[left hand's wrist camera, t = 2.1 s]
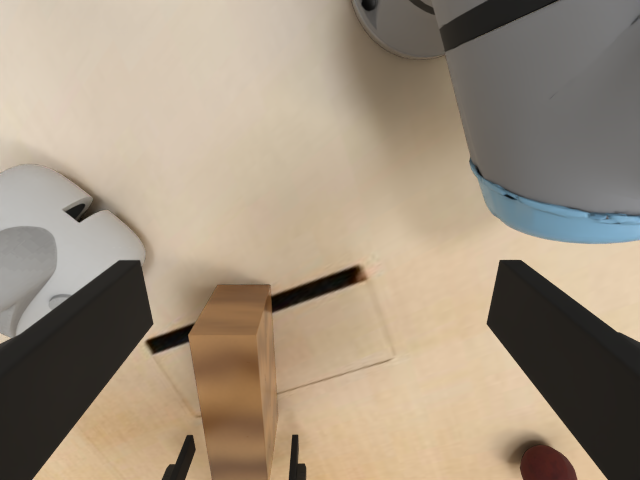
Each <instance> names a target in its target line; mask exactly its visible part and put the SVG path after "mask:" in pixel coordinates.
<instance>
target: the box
mask: <svg viewBox="0 0 640 480" xmlns="http://www.w3.org/2000/svg"><path fill="white" fill-rule="evenodd" d="M188 336H189V342H190V348H191V354H192V361H193V367H194V373H195V379H196V385H197V391H198V397H199V403H200V409H201V415H202V421H203V427H204V433H205V439H206V445H207V452H208V458H209V464H210V470H211V476H212V480H270V472H271V465H272V458H273V450H274V443H275V436H276V428H277V421H278V407H277V389H276V372H275V355H274V337H273V320H272V303H271V286H270V285H217V287H216V289H215V290H214V292H213V294H212V295H211V297H210V299H209V301H208V302H207V304H206V306H205V307H204V309H203V311H202V312H201V314H200V316H199V318H198V319H197V321H196V323H195V324H194V326H193V328H192V330H191V331H190V333H189V335H188Z"/></svg>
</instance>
